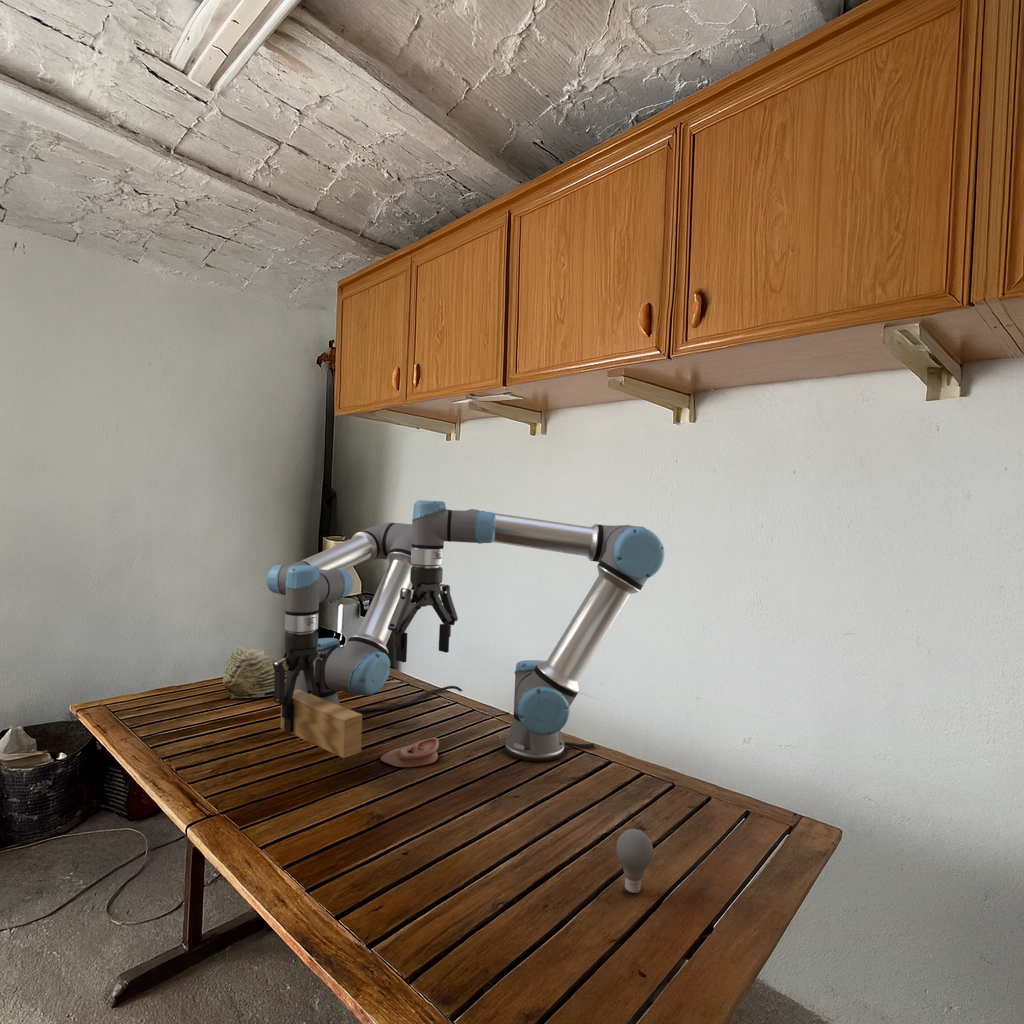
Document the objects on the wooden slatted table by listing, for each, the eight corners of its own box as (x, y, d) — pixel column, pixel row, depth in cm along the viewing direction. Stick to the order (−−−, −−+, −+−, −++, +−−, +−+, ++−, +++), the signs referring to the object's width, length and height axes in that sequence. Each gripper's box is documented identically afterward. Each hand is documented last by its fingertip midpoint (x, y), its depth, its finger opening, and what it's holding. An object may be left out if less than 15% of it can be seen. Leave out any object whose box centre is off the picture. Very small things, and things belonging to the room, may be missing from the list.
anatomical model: (375, 747, 151) (394, 730, 162) (374, 764, 151) (393, 746, 162) (428, 754, 148) (443, 736, 159) (427, 771, 148) (443, 752, 159)
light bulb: (610, 879, 108) (613, 822, 108) (644, 879, 109) (647, 822, 109) (619, 902, 102) (622, 840, 102) (655, 901, 103) (658, 840, 103)
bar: (280, 728, 152) (281, 693, 152) (297, 722, 156) (298, 689, 156) (343, 758, 137) (344, 720, 136) (361, 751, 140) (362, 714, 140)
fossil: (218, 695, 195) (220, 647, 195) (278, 685, 208) (279, 640, 207) (228, 703, 189) (230, 653, 188) (289, 692, 201) (290, 645, 201)
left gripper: (275, 639, 141) (273, 742, 142) (342, 628, 155) (339, 721, 156) (258, 634, 146) (255, 733, 147) (324, 623, 160) (321, 714, 161)
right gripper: (396, 570, 136) (392, 668, 137) (474, 564, 156) (470, 650, 156) (374, 567, 141) (370, 662, 142) (452, 562, 161) (448, 645, 161)
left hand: (299, 727), depth 151 cm, fingers closed on bar, 5 cm apart
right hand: (423, 656), depth 149 cm, fingers open, 13 cm apart
